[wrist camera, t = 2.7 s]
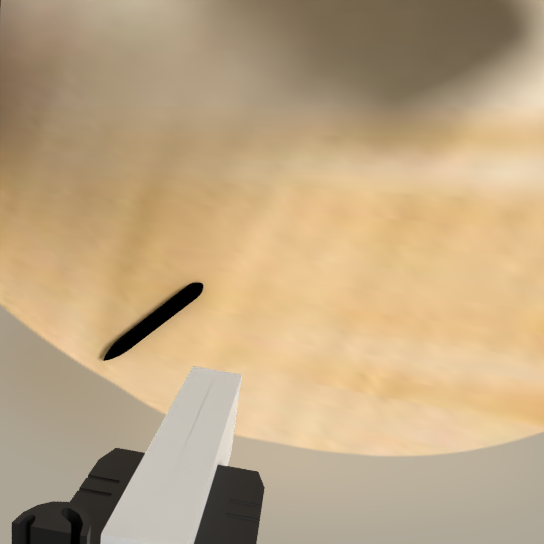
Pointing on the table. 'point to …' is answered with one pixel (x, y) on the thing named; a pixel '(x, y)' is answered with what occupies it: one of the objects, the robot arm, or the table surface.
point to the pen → (155, 320)
